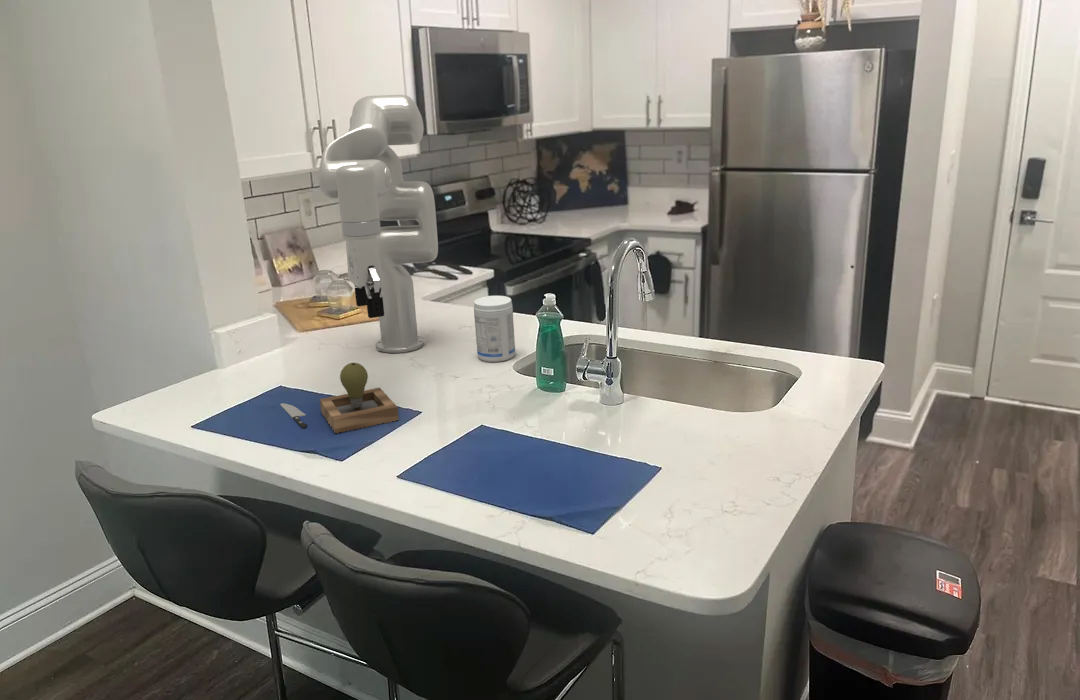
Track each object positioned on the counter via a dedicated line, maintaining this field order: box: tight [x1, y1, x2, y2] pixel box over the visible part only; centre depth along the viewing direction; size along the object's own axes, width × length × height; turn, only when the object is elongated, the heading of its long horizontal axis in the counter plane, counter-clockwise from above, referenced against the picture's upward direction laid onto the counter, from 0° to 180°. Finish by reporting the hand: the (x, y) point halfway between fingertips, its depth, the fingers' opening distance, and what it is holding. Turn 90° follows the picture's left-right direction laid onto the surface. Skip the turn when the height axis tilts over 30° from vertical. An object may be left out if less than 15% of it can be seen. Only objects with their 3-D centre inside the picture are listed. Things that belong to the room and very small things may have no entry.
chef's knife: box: [279, 402, 308, 429], centre depth 171 cm, size 19×1×3 cm
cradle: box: [319, 387, 400, 434], centre depth 168 cm, size 13×13×3 cm
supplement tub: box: [473, 295, 516, 363], centre depth 200 cm, size 10×10×15 cm
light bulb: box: [339, 362, 369, 409], centre depth 167 cm, size 6×6×10 cm
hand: (370, 310), depth 166 cm, fingers open, 9 cm apart
